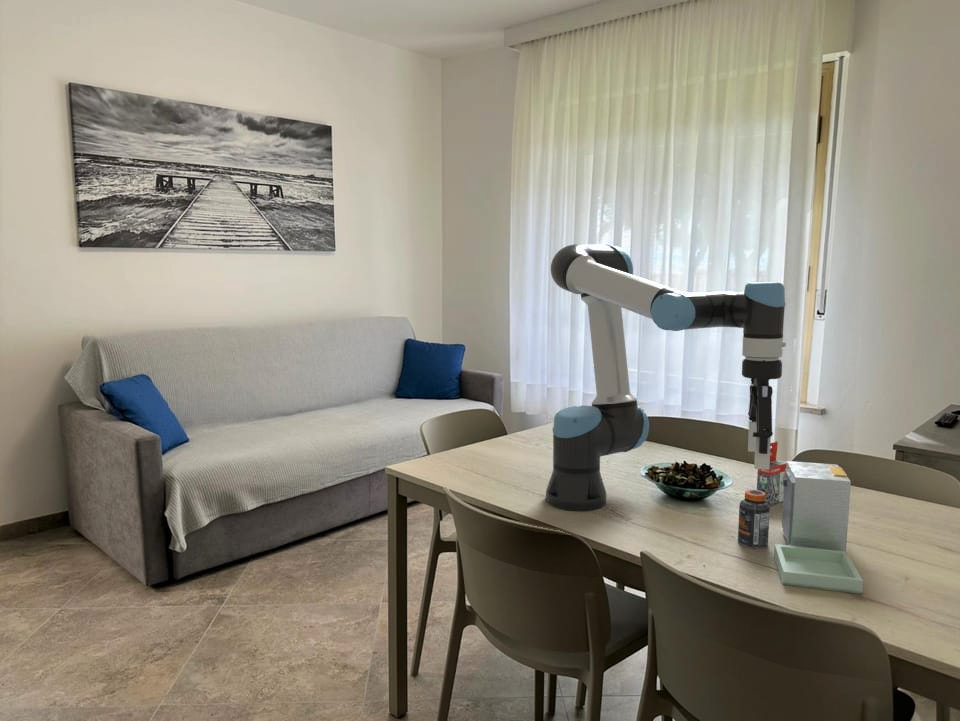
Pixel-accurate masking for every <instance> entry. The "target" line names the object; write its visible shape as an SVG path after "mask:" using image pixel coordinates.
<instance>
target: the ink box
mask: <svg viewBox="0 0 960 721" xmlns="http://www.w3.org/2000/svg"><path fill="white" fill-rule="evenodd" d="M778 446H779V445H778V441H775V442H771V443H770V466H769V470H767V469H757V473H756V474H757V477H756V490H759V491H762V492H764V493H765V502H767V503H768V504H769V506H770V507H771V506H773V505H777V504H778V503H783V494H784V486H783V479H784V477H785V469H786V464H787V461H783V460H778V459H777V452H778Z"/></svg>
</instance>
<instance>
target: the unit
mask: <svg viewBox="0 0 960 721" xmlns="http://www.w3.org/2000/svg"><path fill="white" fill-rule="evenodd" d="M786 462H787V464H786V469H785V477H784V479H783V486H784V494H783V502H782V518H781V529H782V534H783V535H784V539H785V541H786V544H787V545H788V546H797V547H807V548H817V549H826V550H836V551H845V552H847V545H848V531H849V530H848V529H849V528H848V527H849V516H850V515H849V514H850V501H851V500H850V499H851V498H850V497H851V483H852V481H851V480H850V478H849V477H848V475H847V473H846V472H845V471H844V469H843V468H842V467H841V466H839V465H838V464H834V463H833V464H832V463H822V462H821V463H820V462H819V463H818V462H806V461H805V462H804V461H792V460H787V461H786Z"/></svg>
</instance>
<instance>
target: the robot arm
mask: <svg viewBox="0 0 960 721" xmlns="http://www.w3.org/2000/svg"><path fill="white" fill-rule="evenodd" d="M550 274H551V278H552V280H553V281H554V283H555V284H556V285H557V286H558V287H559V288H561V289H562V290H564V291H567V292H570V293H573V294H575V295H580V299H581V301H583V302H584V304H586V306H587V311H588V320H589V321H588V322H589V330H590V333H589V334H590V342H591V343H590V344H591V351H592V352H591V353H592V363H593V371H594V372H593V373H594V382H595V391H596V393H595V394H596V397H594V399H593V400H592V402H591V405H579V406H577V405H574V406H569V407H565V408H563V409H560V410H559V411H557V412H556V413H555V415H554V418H553V427H552V443H553V445H552V446H553V449H552V451H553V452H552V453H553V454H552V462H553V463H552V473H551V475H550V478H549V481H548V484H547V487H546V489H545V500H546V503H547V504H549V505H550V506H552V507H554V508H558V509H562V510H566V511H575V512H578V511H579V512H581V511H582V512H583V511H584V512H585V511H593V510H597V509H600V508H602V507H604V506H605V505H607V491H606V488H605V484H604V481H603V478H602V475H601V457H605V456H609V455H613V454H619V453H627V452H630V451H632V450H635V449H637V448H640V447H641V446H642V445H643V444H644V442H645V441H646V440H647V438H648V435H649V430H650V422H649V418H648V415H647V413H646V412H644V409H643V408H642V407H641V406H639V405H638V399H637V397H636V396H634V395H633V394H632V393H631V390H630V389H631V387H630V378H629V370H628V359H627V347H626V339H625V330H624V320H623V310H622V309H625V310H627V311H630V312H633V313H636V314H638V315H639V316H643V317H645V318H648V319H651V320H652V322H653V323H654V324H655V325H656V327H658V329H661V330H663V331H672V332H679V331H684V330H686V331H688V330H694V329H711V328H722V327H723V328H739V329H743V331H742V332H743V336H742V351H741V352H742V353H741V355H742V356H743V357H744V358H743V359H742V360H741V361H742V362H741V363H742V364H741V376H743V377H744V378H747V379H750V381H751V382H750V385H749V404H748V406H749V407H748V412H747V414H748V420H749V421H748V438H747V439H748V440H747V442H748V445H747V451H748V452H749V453H750V452H751V453H754V461H753V462H754V463H753V464H754V466H753V468H754V469H756V470H758V469H767V470H769V466H770V448H771V446H770V443H772V442H771V438H772V437H773V435H774V432H773V408H772V407H773V405H772V404H773V400H772V399H773V398H772V396H773V392H774V391H773V387H772V386H771V385H770V380H778V379H780V378H781V377H782V374H783V360H781V359H780V358H782V357H783V348H785V347H787V343H786V342H784V341H783V340H784V322H785V321H784V320H785V308H786V302H785V301H786V300H785V299H786V297H785V295H786V293H785V286H784V284H783V283H782V282H777V281H776V282H774V281H772V282H771V281H769V282H765V281H763V282H761V281H760V282H757V281H756V282H747V283H745V286H744V290H743V291H739V292H738V291H719V290H709V291H702V292H686V291H682V290H678V289H675V288H671V287H670V286H667V285H664V284H660V283H658V282H655V281H652V280H649V279H646V278H643V277H640V276H637V275H634V265H633V261H632V258H631V257H630V255H629V254H628V252H627V251H626V250H624V249H623V248H621V247H619V246H616V245H610V244H569V245H566V246H564V247H563V248H561V249H558V251H557V252H556V253H555V255H554V256H553V258H552V260H551V264H550Z"/></svg>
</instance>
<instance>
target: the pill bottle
mask: <svg viewBox="0 0 960 721" xmlns="http://www.w3.org/2000/svg"><path fill="white" fill-rule="evenodd" d="M770 507H771V506H769V504H768V503H767V502H765V493H764V492H762V491H759V490H757V489H746V490H745V491H744V499H742V500H740V502H739V509H738V528H737V529H738V530H737V542H738V543H739V544H740V545H741V546H744V547H747V548H750V549H763V548H767V547H768V545H769V533H770V532H769V531H770V530H769V528H770V514H771V513H770V510H771V508H770Z"/></svg>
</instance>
